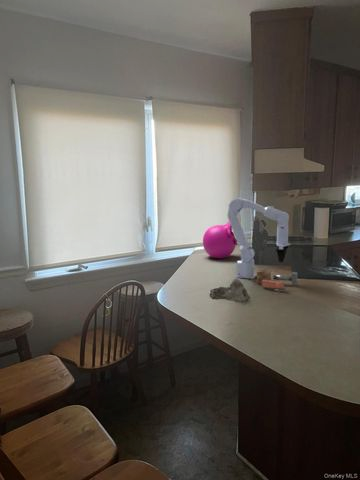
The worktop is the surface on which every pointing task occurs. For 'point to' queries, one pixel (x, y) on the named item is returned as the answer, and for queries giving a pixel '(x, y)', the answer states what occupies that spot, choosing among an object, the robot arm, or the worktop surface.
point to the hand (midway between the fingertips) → (281, 260)
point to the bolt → (287, 278)
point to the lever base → (279, 290)
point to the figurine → (219, 241)
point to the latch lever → (273, 284)
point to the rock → (230, 292)
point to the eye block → (263, 275)
